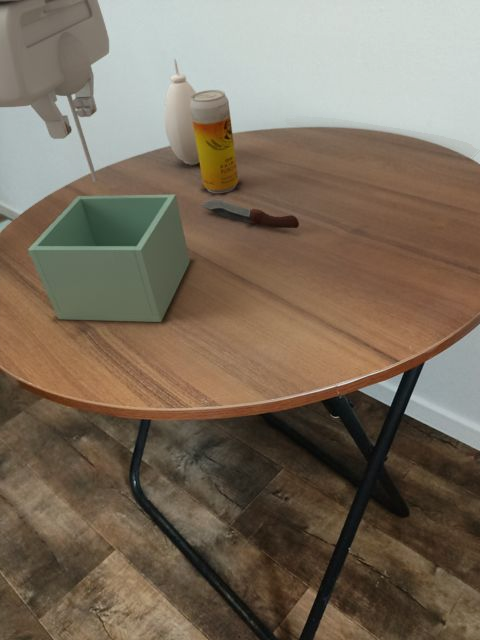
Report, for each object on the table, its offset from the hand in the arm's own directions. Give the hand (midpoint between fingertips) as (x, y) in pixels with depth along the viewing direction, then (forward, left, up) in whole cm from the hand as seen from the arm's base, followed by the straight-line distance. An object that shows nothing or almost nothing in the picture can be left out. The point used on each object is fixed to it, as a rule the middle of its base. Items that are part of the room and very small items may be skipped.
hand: (75, 125), depth 55 cm
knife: (+13, +18, -21) cm, 31 cm away
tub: (0, 0, -21) cm, 21 cm away
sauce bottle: (-2, +42, -21) cm, 47 cm away
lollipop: (0, 0, -6) cm, 6 cm away
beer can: (+6, +31, -21) cm, 38 cm away
